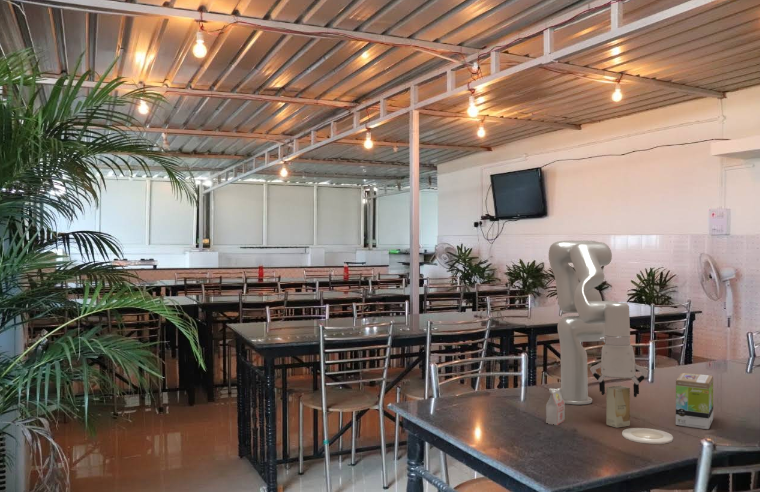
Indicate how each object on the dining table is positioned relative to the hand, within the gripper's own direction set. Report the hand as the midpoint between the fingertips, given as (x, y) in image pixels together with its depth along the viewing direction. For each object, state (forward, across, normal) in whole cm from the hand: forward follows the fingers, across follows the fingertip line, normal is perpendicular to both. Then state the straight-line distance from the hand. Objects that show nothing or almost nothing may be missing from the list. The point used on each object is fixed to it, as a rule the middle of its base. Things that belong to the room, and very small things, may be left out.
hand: (619, 395), depth 199 cm
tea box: (+10, +21, +15) cm, 28 cm away
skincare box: (+10, -1, +1) cm, 10 cm away
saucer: (+10, +8, -9) cm, 16 cm away
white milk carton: (+10, -20, -3) cm, 22 cm away
